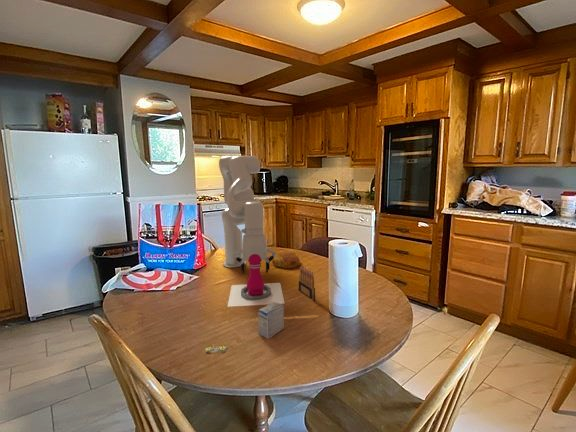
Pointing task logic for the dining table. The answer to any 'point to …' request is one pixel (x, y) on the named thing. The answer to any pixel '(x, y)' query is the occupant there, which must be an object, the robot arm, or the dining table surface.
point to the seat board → (238, 300)
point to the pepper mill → (255, 276)
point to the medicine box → (271, 319)
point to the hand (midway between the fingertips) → (255, 271)
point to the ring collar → (256, 297)
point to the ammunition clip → (306, 283)
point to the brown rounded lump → (286, 260)
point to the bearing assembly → (216, 349)
